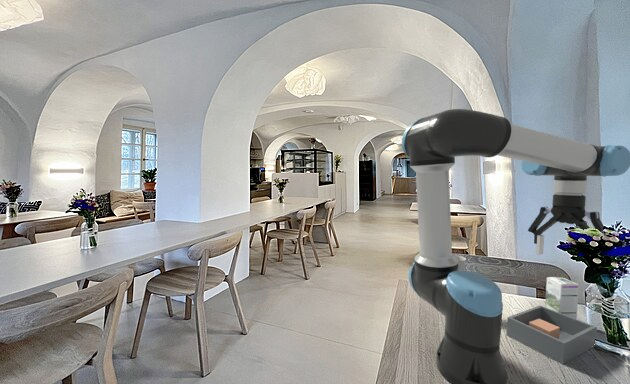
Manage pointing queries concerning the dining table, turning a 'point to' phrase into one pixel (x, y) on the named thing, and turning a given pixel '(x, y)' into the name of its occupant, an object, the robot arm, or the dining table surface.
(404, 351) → the dining table surface
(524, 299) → the dining table surface
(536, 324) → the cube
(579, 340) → the tote
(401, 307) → the dining table surface
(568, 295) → the syrup box
